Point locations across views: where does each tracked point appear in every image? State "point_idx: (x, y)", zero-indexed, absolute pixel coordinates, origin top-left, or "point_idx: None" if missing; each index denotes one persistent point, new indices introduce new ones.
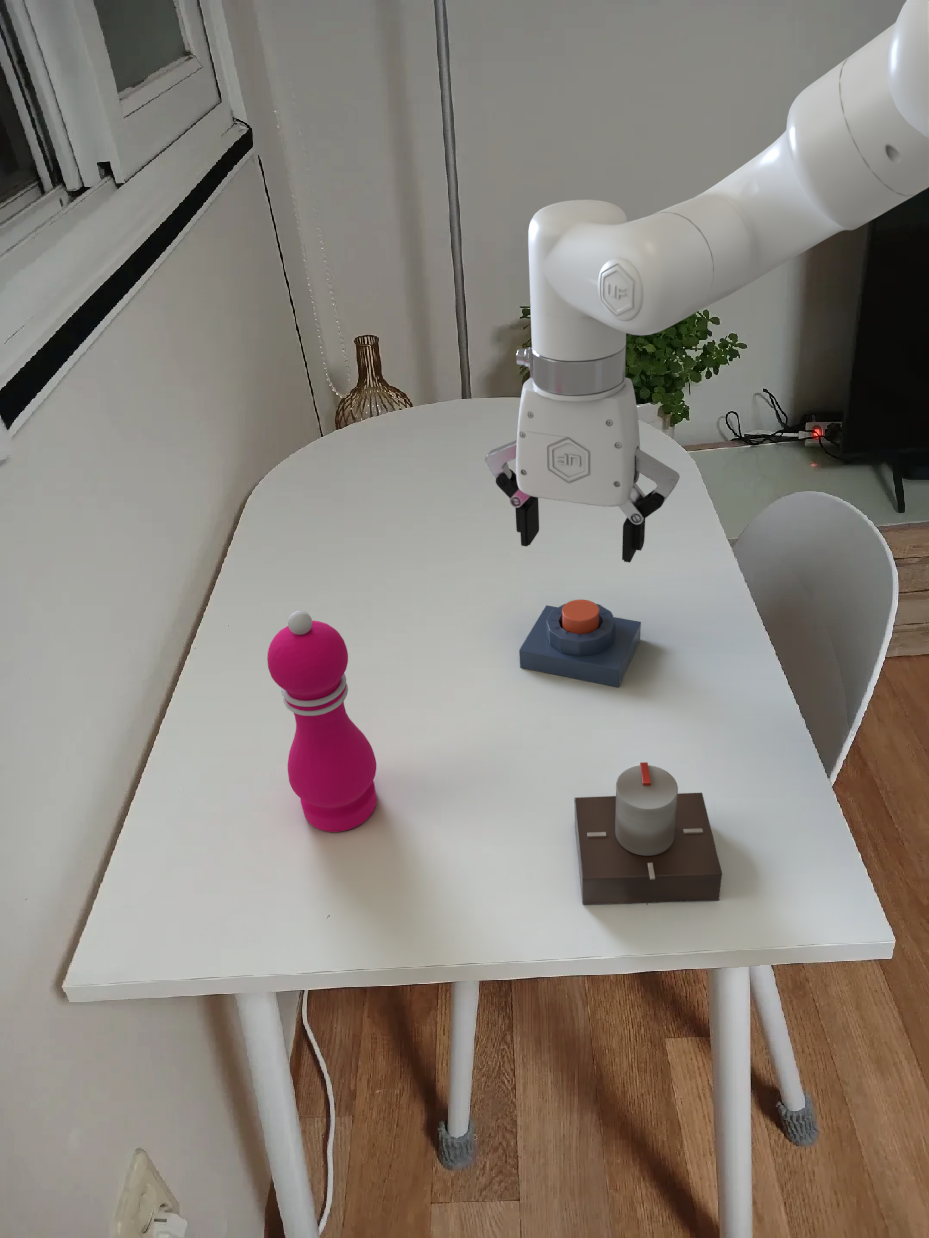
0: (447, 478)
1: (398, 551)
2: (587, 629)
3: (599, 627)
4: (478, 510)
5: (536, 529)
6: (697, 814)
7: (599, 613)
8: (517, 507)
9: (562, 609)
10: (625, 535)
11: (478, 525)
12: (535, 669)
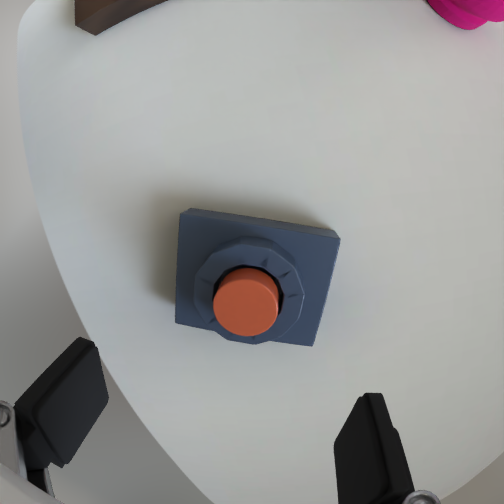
0: None
1: (464, 401)
2: (230, 274)
3: None
4: None
5: (340, 444)
6: (82, 1)
7: None
8: (414, 492)
9: (276, 307)
10: (45, 387)
11: None
12: (311, 227)
